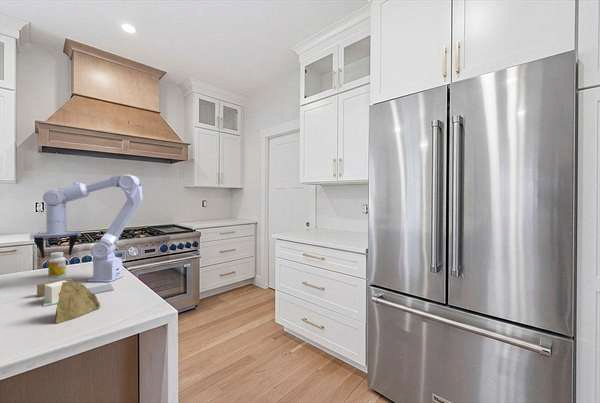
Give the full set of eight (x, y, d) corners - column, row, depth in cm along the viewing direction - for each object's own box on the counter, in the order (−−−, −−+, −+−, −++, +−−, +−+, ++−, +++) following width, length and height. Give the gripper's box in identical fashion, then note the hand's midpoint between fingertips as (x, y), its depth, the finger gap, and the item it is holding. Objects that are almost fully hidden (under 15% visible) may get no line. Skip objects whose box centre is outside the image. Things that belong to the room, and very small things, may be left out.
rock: (102, 295, 87) (62, 297, 81) (105, 278, 83) (62, 279, 77) (97, 327, 79) (51, 331, 74) (99, 310, 75) (51, 313, 70)
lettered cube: (64, 294, 91) (63, 280, 91) (71, 297, 89) (71, 282, 89) (44, 300, 87) (44, 284, 87) (52, 303, 85) (51, 287, 84)
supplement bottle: (45, 277, 111) (44, 253, 111) (60, 273, 116) (59, 251, 116) (54, 278, 110) (53, 254, 109) (69, 274, 115) (68, 252, 114)
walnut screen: (71, 289, 98) (71, 278, 98) (72, 291, 96) (72, 280, 96) (37, 295, 92) (37, 283, 92) (36, 297, 90) (36, 286, 90)
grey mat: (110, 285, 103) (110, 284, 103) (113, 290, 97) (113, 289, 97) (87, 289, 98) (87, 288, 98) (89, 295, 93) (89, 293, 93)
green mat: (72, 294, 93) (72, 293, 93) (73, 300, 88) (73, 299, 88) (44, 299, 88) (44, 298, 88) (43, 306, 83) (43, 305, 83)
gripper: (80, 219, 112) (80, 251, 112) (30, 221, 102) (31, 256, 102) (81, 220, 106) (81, 254, 107) (29, 222, 97) (29, 260, 97)
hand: (56, 256), depth 104 cm, fingers open, 7 cm apart
